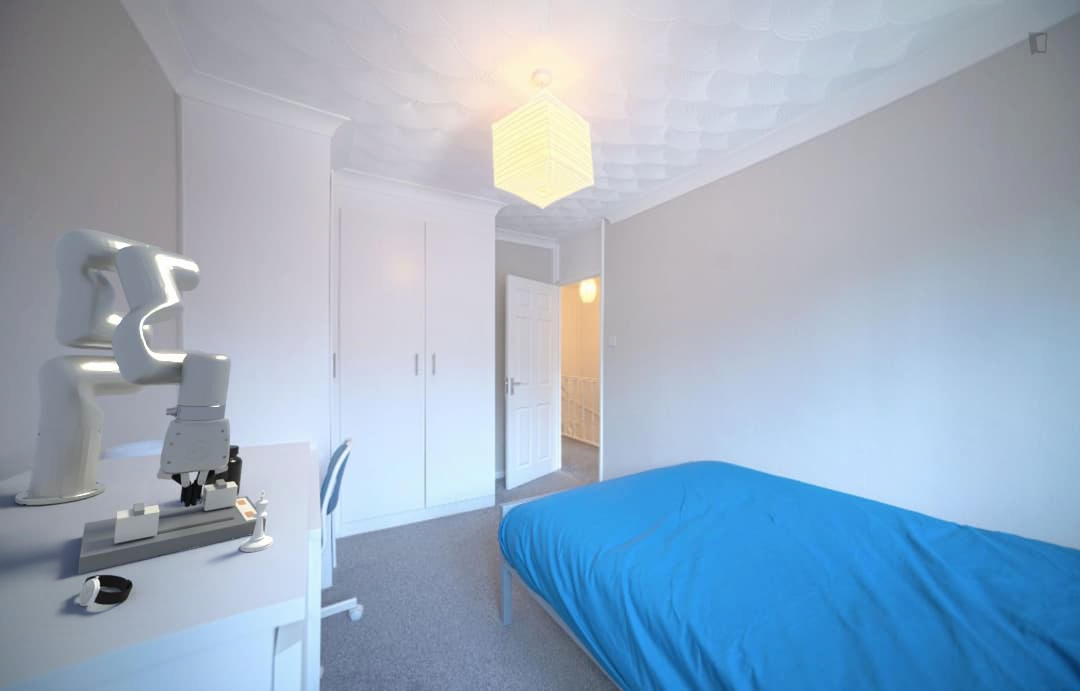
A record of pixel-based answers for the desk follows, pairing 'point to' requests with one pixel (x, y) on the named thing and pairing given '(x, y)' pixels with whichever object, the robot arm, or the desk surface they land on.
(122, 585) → the watch
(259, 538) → the chess piece
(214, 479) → the supplement bottle
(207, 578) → the desk surface
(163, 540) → the switch panel
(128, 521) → the switch
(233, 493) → the switch
